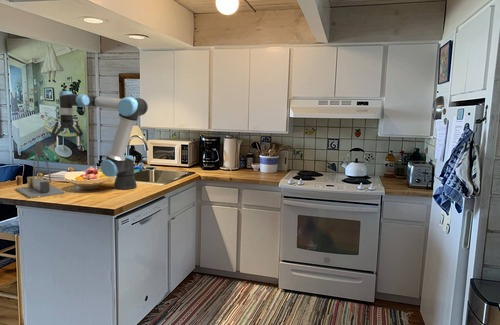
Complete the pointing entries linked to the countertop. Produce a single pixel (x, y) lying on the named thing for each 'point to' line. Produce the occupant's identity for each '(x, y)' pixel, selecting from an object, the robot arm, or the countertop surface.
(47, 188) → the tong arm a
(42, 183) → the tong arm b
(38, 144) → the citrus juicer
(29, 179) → the pivot block
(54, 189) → the cutting board
